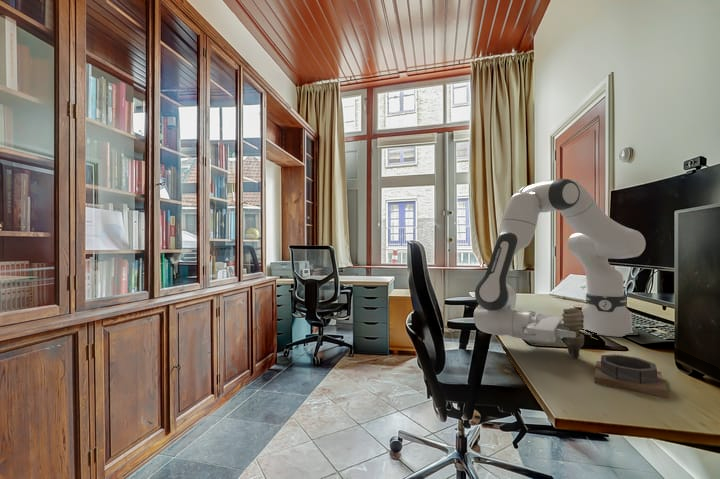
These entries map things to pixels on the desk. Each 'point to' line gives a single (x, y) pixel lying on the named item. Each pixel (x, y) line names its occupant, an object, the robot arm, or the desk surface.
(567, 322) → the light bulb
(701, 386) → the desk surface
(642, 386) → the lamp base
